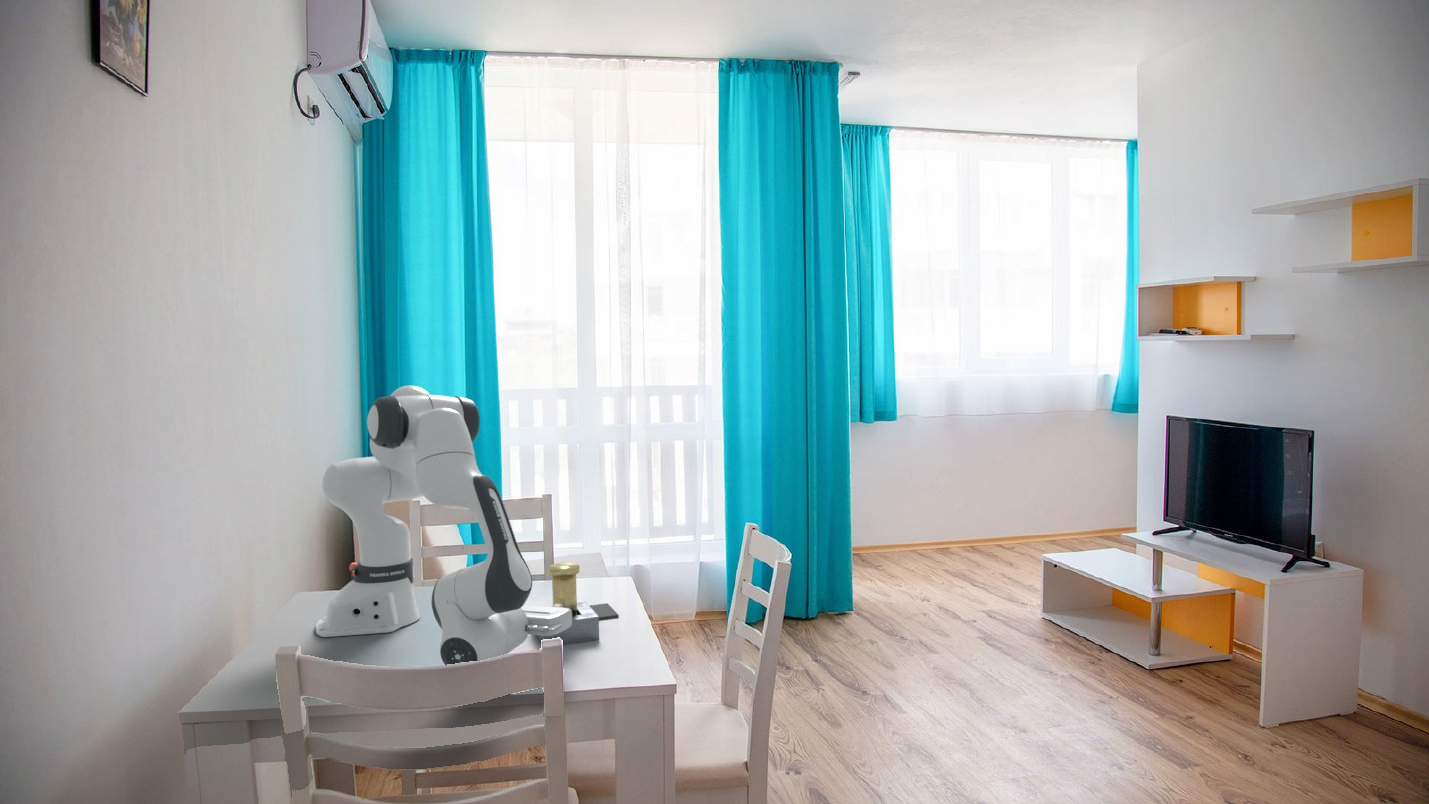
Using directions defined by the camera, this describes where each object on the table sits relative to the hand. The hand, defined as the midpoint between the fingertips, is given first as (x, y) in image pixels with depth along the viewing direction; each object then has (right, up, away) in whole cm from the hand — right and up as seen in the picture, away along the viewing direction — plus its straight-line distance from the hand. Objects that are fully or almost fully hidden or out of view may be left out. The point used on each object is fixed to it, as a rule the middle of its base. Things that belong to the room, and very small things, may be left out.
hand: (538, 606), depth 174 cm
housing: (+3, -9, +12) cm, 16 cm away
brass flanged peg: (+3, -7, +12) cm, 14 cm away
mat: (+7, -8, +26) cm, 29 cm away
